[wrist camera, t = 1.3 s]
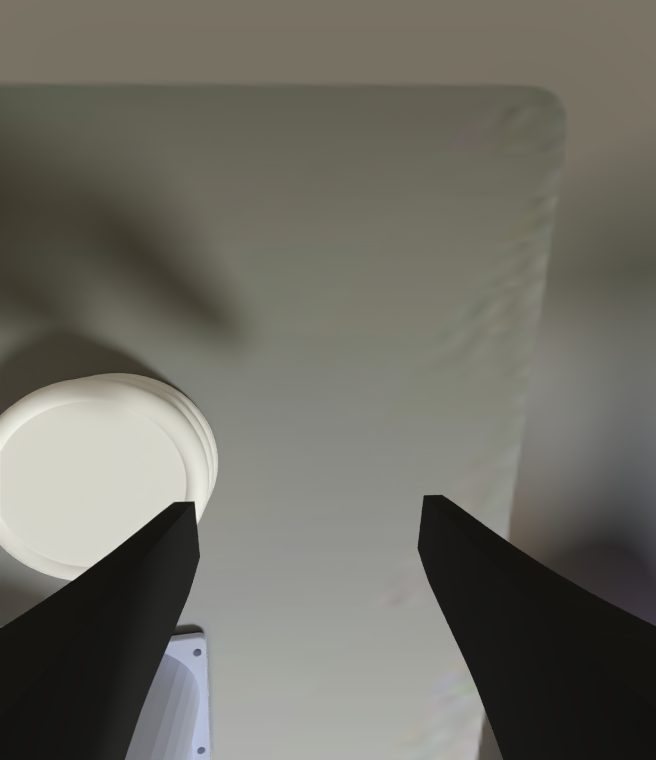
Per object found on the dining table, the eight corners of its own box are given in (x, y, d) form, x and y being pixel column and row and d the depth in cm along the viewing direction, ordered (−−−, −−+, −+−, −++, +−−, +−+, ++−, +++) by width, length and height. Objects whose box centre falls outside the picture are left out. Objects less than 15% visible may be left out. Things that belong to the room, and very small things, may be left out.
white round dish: (228, 527, 19) (217, 568, 16) (46, 554, 18) (-10, 606, 14) (209, 365, 18) (193, 370, 14) (11, 380, 16) (-62, 390, 13)
